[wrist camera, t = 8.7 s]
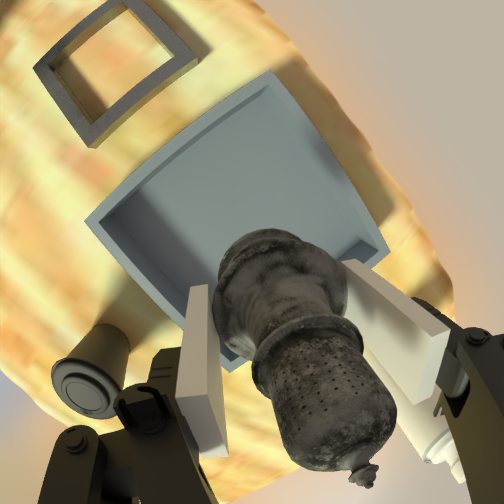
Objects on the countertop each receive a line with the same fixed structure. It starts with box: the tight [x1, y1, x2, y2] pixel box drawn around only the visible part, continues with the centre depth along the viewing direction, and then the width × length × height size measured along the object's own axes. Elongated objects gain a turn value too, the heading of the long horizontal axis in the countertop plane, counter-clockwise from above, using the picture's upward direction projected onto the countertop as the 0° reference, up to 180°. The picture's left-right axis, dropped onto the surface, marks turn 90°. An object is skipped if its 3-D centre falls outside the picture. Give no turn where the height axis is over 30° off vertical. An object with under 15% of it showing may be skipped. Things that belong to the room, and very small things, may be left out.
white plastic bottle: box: [363, 342, 466, 484], centre depth 24 cm, size 7×7×25 cm
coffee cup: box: [51, 324, 130, 419], centre depth 26 cm, size 8×8×10 cm
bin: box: [84, 70, 390, 373], centre depth 27 cm, size 20×20×5 cm
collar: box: [33, 0, 198, 149], centre depth 21 cm, size 13×13×2 cm
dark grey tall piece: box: [212, 228, 397, 489], centre depth 10 cm, size 6×6×12 cm
